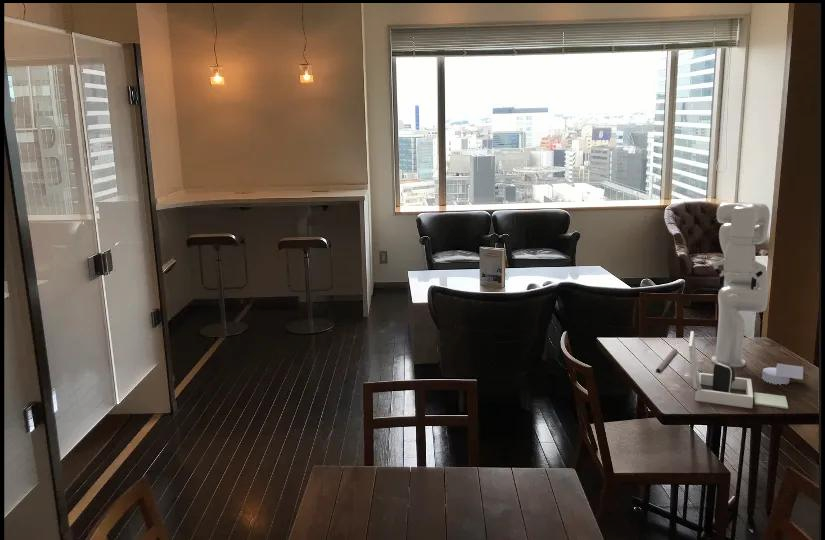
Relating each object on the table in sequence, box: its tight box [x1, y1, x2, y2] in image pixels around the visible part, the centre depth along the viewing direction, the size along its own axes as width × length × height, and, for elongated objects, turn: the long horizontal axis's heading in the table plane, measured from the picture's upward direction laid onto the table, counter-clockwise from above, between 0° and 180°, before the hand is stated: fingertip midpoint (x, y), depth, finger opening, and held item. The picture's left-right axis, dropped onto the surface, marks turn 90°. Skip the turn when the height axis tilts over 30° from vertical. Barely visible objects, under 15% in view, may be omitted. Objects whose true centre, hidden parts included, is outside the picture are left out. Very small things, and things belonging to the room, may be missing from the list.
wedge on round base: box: [761, 363, 804, 386], centre depth 249 cm, size 9×7×13 cm
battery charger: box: [711, 363, 736, 393], centre depth 237 cm, size 7×4×11 cm, turn 25°
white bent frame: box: [688, 330, 754, 409], centre depth 237 cm, size 18×21×20 cm
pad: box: [753, 391, 789, 409], centre depth 232 cm, size 10×10×1 cm
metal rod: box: [655, 348, 678, 373], centre depth 272 cm, size 2×27×2 cm, turn 146°
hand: (737, 287), depth 241 cm, fingers open, 9 cm apart
